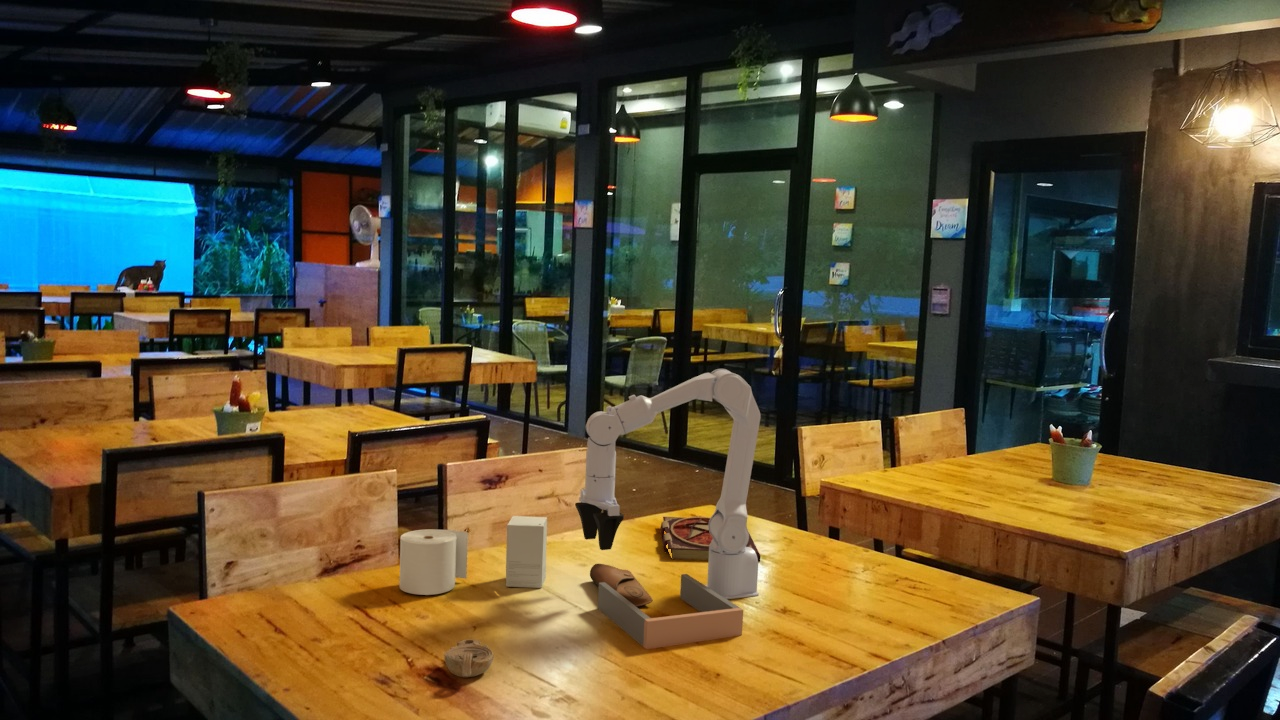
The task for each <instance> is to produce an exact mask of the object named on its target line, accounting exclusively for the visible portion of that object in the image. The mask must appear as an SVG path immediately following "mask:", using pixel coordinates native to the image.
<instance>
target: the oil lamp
mask: <svg viewBox="0 0 1280 720" xmlns="http://www.w3.org/2000/svg"><path fill="white" fill-rule="evenodd" d="M481 643H482V642H481V640H480V639H479V640H477V639H471V638H469V639H463V640H461V641H457V642H456V646H450V649H448V650H446V651H445V652H444V654H443V657H444V658H443V659H444V662H445V665H446V668H447V669H448V671H449V672H450V673H451V674H452V675H454V676H457V677H459V678H473V677H476V676H477V677H478V676H479V675H481V674H484V673H486V672H487V671H488V670H489V668H491V665H492V663H493V660H494V652H493V651H492V649H490V648H489V645H488V644H487V645H486V644H483V645H482V644H481Z"/></svg>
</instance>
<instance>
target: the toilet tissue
mask: <svg viewBox="0 0 1280 720" xmlns="http://www.w3.org/2000/svg"><path fill="white" fill-rule="evenodd" d="M468 537H469V532H468V531H462V530H456V529H455V530H452V529H435V528H434V529H433V528H432V529H418V530H417V529H416V530H411V531H407V532H404V533H403V534H401V535H400V543H399V544H400V546H399V548H400V549H399V554H400V555H399V577H398V578H399V579H398V580H399V583H398V584H399V585H398V586H399V590H401V591H403V592H404V593H408V594H412V595H421V596H422V595H425V596H431V595H439V594H443V593H447V592H450V591H451V590H453V589H454V588H455V586H456V578H458V579H459V578H460V579H465V580H467V578H468V577H467V575H468V570H467V568H468V551H469V550H468V541H469V539H468Z"/></svg>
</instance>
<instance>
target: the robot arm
mask: <svg viewBox="0 0 1280 720" xmlns="http://www.w3.org/2000/svg"><path fill="white" fill-rule="evenodd" d="M628 399H629V400H626V401H624V402H621V403H620V404H617V405H615V406H611V405H608V406H606V407H605V410H606V411H602V410H601V411H596V412H594V413H592V414H591V415H590V416H589V418H588V419H587V422H586V424H585V431H586V434H587V435H588V438H587V442H586V446H587V449H586V455H585V477H584V478H585V480H584V482H585V483H584V484H585V485H584V488H582V489H580V494H579V495H580V496H579V497H578V501H579V502H575V504H574V507H575V508H576V510H577V513H578V515H579V518H580V523H581V526H582V527H581V528H582V533H583V538H584V540H596V537H597V536H598V547H599V550H601V551H607V550H609V551H610V550H612V547H613V544H614V542H615V541H614V540H615V537H616V534H617V531H618V529H619V526H620V524H621V523H622V522H623V520H624V518H625V514H624V513H621V512H620V509H621V508H620V507H621V506H620V505H619V504H618V502H617V498H616V497H615V493H616V492H615V491H616V490H615V489H616V488H615V486H616V464H617V452H616V442H617V439H618V438H619V436H620V435H621V436H624V435H627V434H630V433H631V432H634V431H637V430H638V429H640V428H644V427H645V426H647V425H650V424H652V423H653V422H654V421H655V418H656V416H657V415H658V414H659V413H662V412H665V411H667V410H669V409H670V410H671V409H673V408H676V407H678V406H680V405H682V404H685V403H688V402H690V401H693V400H699V401H706V402H713V400H714V401H716V402H717V403H719V404H721V405H722V406H723V407H724V409H725V411H726V412H727V413H728V414H729V416H730V417H731V418H732V419H733V420H732V421H733V422H732V428H731V435H730V441H729V446H728V452H727V458H726V464H725V469H724V470H725V471H724V474H723V475H724V476H723V481H722V482H723V483H722V488H721V493H720V498H719V499H718V501H717V502H716V506H715V510H714V512H713V513H712V515H711V517H709V518H710V520H709V524H708V529H709V532H710V534H711V535H712V536H713V539H712V541H711V543H710V544H709V560H707V561H708V562H707V563H708V564H707V579H706V580H707V583H706V584H704V585H705V586H707V587H708V588H710V589H711V590H713V591H714V592H716V593H718V594H719V595H721V596H722V597H724V598H725V599H727V600H732V599H733V600H734V599H740V598H750V597H758V596H759V592H758V579H759V578H758V574H759V562H758V558H757V555H756V552H755V551H754V550H753V549H752V548H750V547H746V545H747V543H748V540H749V534H750V531H749V530H748V529H749V528H748V527H747V526H748V518H749V517H748V511H747V499H748V492H749V488H750V487H749V486H750V481H751V476H752V469H753V465H754V460H755V459H754V458H755V452H756V447H757V442H758V441H757V440H758V435H759V427H760V423H761V416H762V415H761V412H760V409H759V406H758V404H757V402H756V399H755V397H754V395H753V391H752V386H750V384H748V382H747V381H746V380H745V379H744V378H743V377H742V376H741V375H739V374H736V373H734V372H731V371H730V370H728V369H726V368H717V369H714V370H713V371H711V372H704V373H702V374H700V375H698V376H694V377H692V378H691V379H690V378H689V379H688V380H686V381H684V382H681V383H679V384H678V385H675V386H673V387H671V388H669V389H666V390H665V391H663V392H660V393H658V394H656V395H654V396H652V397H647V396H644V395H642V394H641V395H637V396H636V395H635V394H632V395H630V396H628Z"/></svg>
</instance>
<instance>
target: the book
mask: <svg viewBox="0 0 1280 720" xmlns="http://www.w3.org/2000/svg"><path fill="white" fill-rule="evenodd" d="M710 518H711V517H709V516H690V517H684V516H683V517H681V516H680V517H679V516H678V517H677V516H662V520H663V521H661V524H660V533H661V534H662V535H661V539H662V545H663V552H667V553H668V551H667V549H666V545H667V544H668V549H671V553H672V558H673V559H672V560H692V559H697V560H699V561H701V560H703V561H705V560H706V561H708V560H709V544H710V543H711V541H712V539H713V536H712V535H711V534H710V532H709V529H708V524H709V520H710ZM664 531H665V532H666V534H664ZM746 547H750V548H752V549H753V550H754V551H755V552H756V555H757V558H758V563H760V562H761V554H760V552H759V550H758V548H757V546H756V544H755V542H754V540H753V538H752V536H751V534H750V533H749V540H748V543H747V545H746ZM697 560H696V561H697Z"/></svg>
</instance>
